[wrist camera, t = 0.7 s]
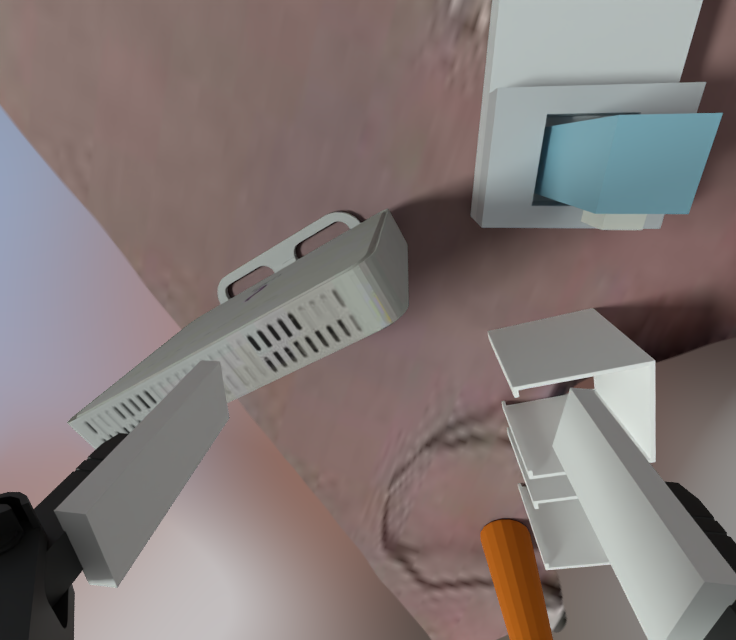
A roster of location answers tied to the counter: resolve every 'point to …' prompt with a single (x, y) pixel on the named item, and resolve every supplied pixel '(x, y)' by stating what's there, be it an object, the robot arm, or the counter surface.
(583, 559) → the storage container
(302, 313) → the network device
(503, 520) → the spray bottle
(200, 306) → the counter surface
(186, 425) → the robot arm
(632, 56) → the panel
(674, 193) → the plug
